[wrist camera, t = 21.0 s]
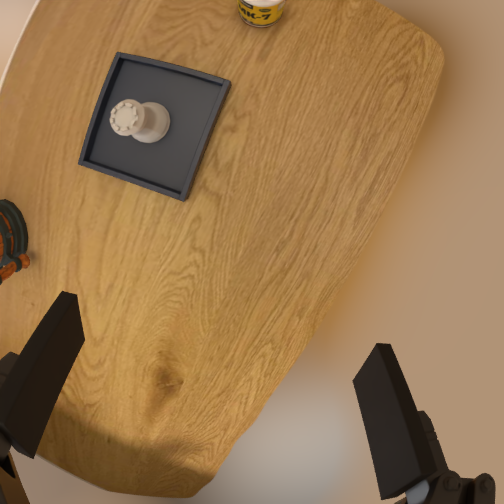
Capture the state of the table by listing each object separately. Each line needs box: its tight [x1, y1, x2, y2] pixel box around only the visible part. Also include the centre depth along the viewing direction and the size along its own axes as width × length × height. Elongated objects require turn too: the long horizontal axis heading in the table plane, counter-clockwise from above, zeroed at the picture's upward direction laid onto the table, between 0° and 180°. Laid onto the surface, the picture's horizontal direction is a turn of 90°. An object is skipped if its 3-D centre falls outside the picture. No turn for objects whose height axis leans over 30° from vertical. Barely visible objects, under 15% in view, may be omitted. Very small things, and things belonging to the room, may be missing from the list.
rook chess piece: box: [109, 99, 170, 143], centre depth 27 cm, size 4×4×8 cm
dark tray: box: [78, 52, 232, 202], centre depth 30 cm, size 13×13×2 cm
